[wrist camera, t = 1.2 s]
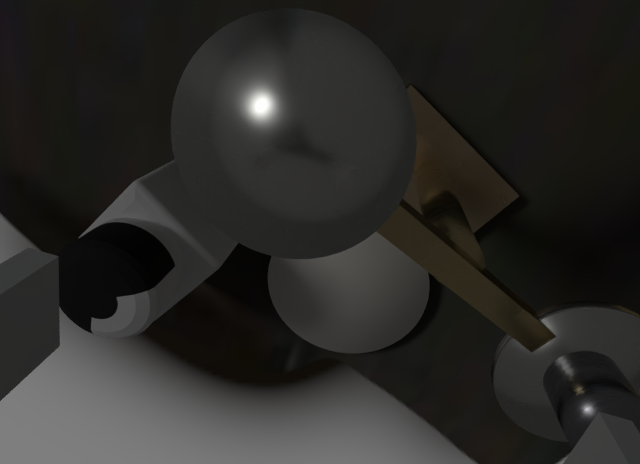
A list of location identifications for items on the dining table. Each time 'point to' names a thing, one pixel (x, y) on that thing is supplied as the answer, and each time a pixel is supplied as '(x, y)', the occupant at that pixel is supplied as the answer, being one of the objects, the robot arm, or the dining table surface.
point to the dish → (350, 296)
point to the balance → (382, 198)
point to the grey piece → (139, 257)
